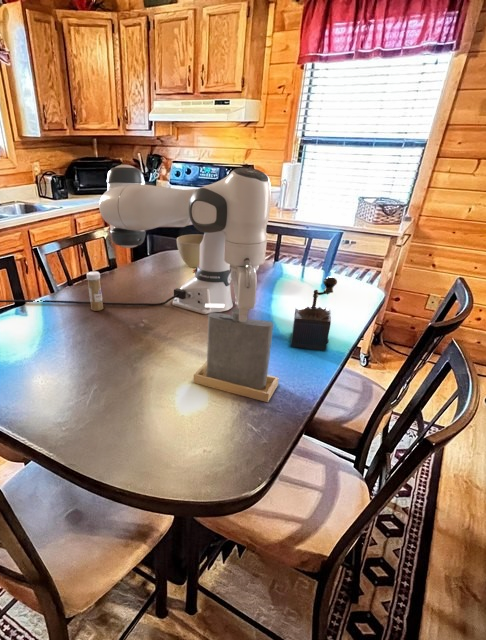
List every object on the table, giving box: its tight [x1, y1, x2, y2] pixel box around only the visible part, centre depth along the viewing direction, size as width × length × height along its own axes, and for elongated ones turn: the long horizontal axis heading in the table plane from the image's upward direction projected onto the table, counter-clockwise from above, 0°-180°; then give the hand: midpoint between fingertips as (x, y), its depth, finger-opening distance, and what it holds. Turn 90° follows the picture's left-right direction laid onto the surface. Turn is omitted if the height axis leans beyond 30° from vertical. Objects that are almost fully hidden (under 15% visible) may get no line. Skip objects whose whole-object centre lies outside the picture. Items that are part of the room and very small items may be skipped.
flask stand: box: [193, 360, 280, 403], centre depth 107 cm, size 20×9×2 cm, turn 62°
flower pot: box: [176, 233, 204, 268], centre depth 194 cm, size 18×18×12 cm
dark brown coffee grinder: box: [290, 276, 338, 351], centre depth 125 cm, size 16×11×18 cm
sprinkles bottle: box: [86, 270, 104, 312], centre depth 149 cm, size 5×5×14 cm
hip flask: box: [206, 307, 274, 390], centre depth 102 cm, size 16×4×20 cm, turn 65°
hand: (240, 312), depth 97 cm, fingers open, 8 cm apart
